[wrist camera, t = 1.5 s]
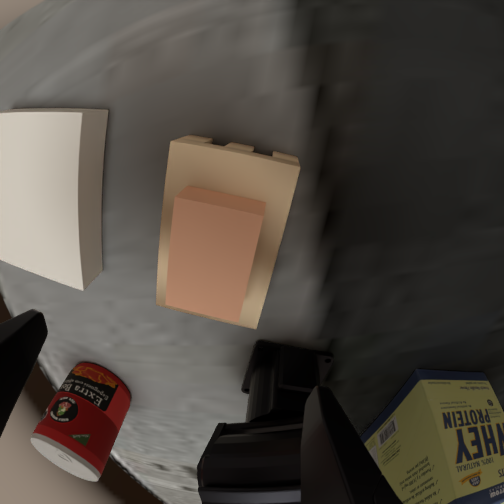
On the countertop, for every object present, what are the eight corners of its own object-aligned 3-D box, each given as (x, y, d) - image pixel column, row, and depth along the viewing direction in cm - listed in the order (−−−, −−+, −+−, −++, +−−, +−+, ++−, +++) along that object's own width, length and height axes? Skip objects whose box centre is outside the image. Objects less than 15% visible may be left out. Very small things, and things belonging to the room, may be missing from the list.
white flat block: (102, 270, 22) (83, 290, 19) (17, 243, 22) (-4, 258, 19) (108, 109, 17) (82, 112, 14) (12, 109, 16) (-14, 113, 14)
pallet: (260, 296, 22) (256, 329, 19) (173, 275, 22) (156, 304, 19) (296, 156, 17) (300, 167, 14) (190, 134, 17) (170, 141, 14)
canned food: (122, 368, 27) (78, 457, 17) (140, 412, 31) (110, 489, 21) (64, 353, 28) (15, 427, 18) (86, 397, 31) (51, 465, 21)
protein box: (485, 369, 24) (535, 484, 10) (415, 445, 31) (432, 541, 17) (415, 365, 24) (460, 518, 10) (348, 447, 31) (355, 558, 17)
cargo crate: (242, 300, 18) (238, 322, 16) (176, 284, 18) (165, 304, 16) (266, 202, 15) (263, 216, 13) (187, 185, 15) (174, 196, 13)
